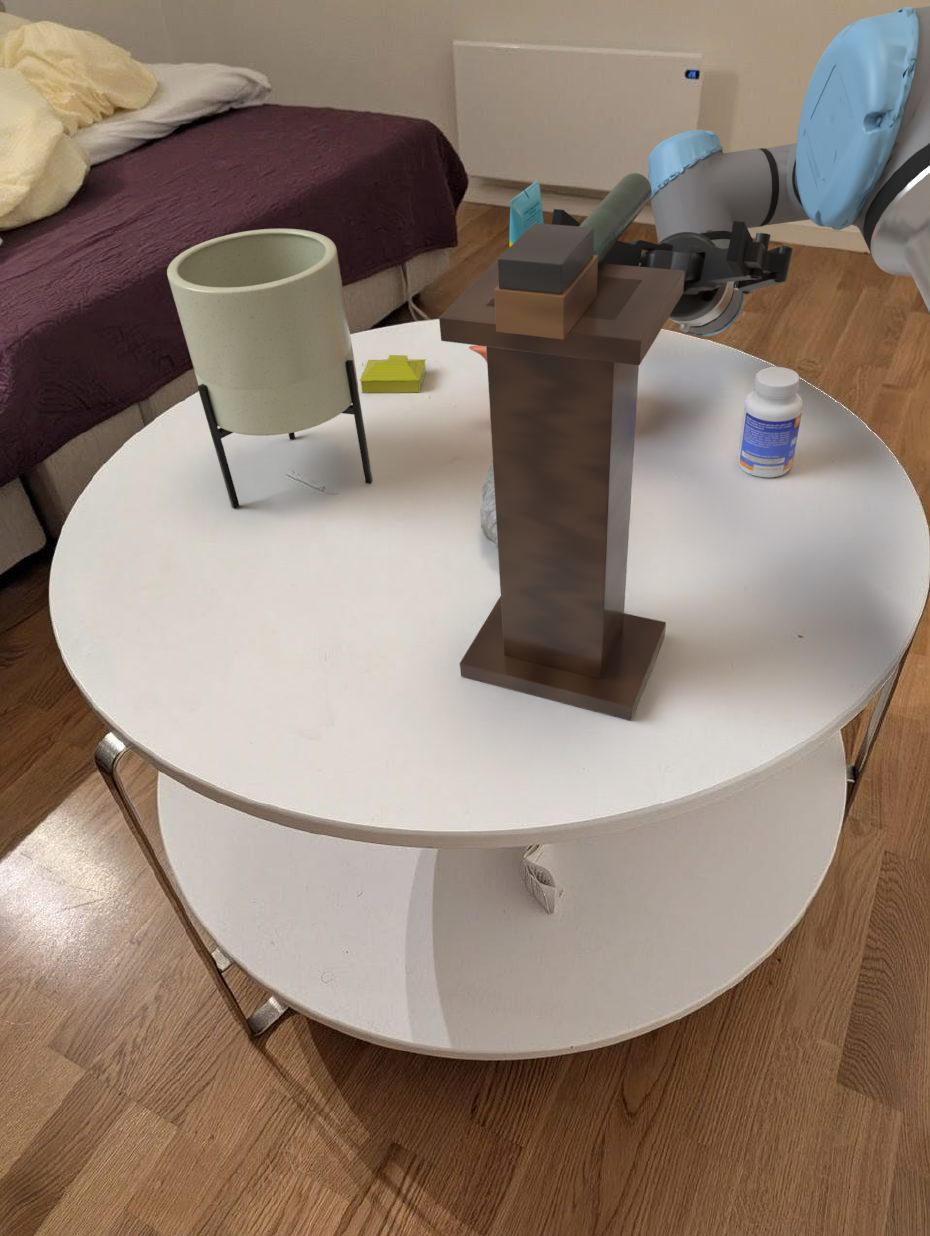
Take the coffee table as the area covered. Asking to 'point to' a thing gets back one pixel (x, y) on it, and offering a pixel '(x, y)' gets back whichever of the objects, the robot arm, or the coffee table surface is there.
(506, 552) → the stand
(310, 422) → the planter
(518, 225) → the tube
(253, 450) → the coffee table surface
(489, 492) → the seashell
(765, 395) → the pill bottle
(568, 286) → the brush
